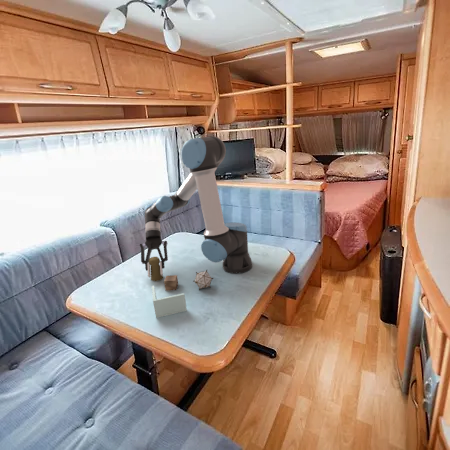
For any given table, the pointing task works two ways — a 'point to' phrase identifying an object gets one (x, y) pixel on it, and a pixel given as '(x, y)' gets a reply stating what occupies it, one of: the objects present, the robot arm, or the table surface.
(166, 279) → the walnut block
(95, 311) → the table surface
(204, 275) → the game die
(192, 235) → the table surface
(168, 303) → the l-shaped corner panel
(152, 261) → the cork
